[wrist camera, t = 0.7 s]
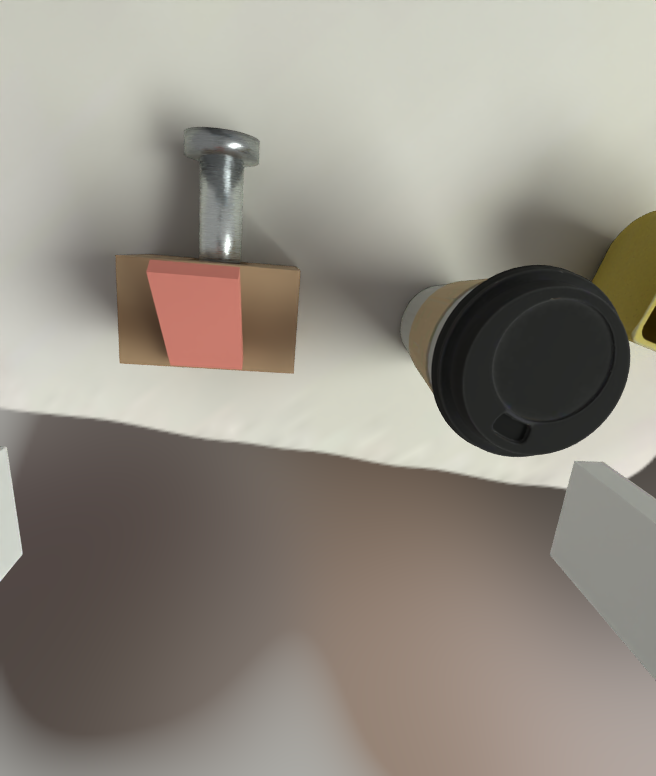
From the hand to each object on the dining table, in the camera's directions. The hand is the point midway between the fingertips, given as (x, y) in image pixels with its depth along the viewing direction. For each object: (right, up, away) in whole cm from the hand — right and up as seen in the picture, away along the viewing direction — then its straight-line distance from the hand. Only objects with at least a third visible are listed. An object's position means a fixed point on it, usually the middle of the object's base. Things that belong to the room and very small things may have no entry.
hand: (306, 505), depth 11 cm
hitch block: (-7, +9, +22) cm, 25 cm away
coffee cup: (+9, +8, +24) cm, 27 cm away
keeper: (-6, +7, +13) cm, 16 cm away
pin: (-7, +13, +20) cm, 25 cm away
